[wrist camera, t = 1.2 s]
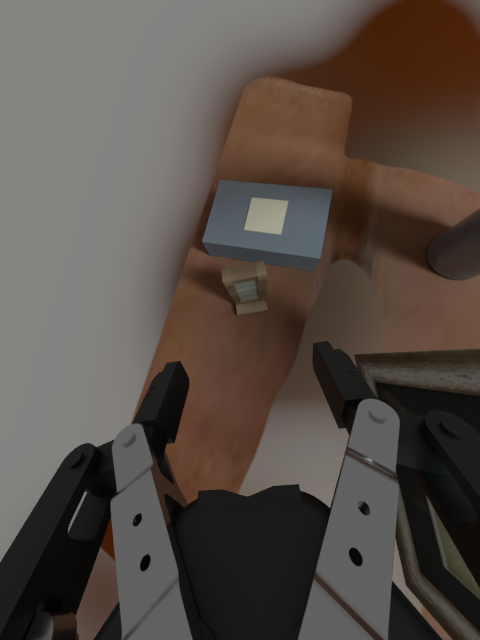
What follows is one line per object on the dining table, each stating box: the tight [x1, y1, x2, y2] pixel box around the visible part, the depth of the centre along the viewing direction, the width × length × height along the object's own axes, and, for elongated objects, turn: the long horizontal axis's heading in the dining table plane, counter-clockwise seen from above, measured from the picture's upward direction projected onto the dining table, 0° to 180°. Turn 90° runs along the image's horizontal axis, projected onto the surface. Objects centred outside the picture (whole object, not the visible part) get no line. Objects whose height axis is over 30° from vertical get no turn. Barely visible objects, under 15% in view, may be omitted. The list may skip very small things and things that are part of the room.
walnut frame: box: [221, 261, 268, 316], centre depth 32 cm, size 6×6×13 cm
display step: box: [202, 180, 333, 271], centre depth 38 cm, size 22×14×5 cm, turn 77°
